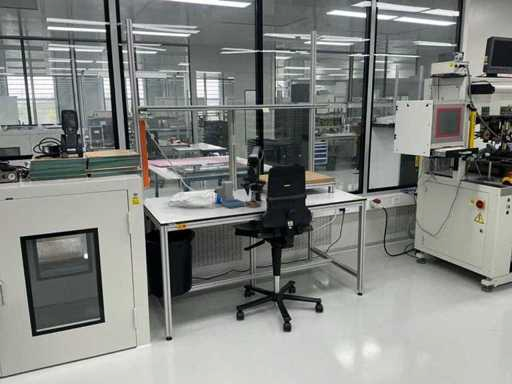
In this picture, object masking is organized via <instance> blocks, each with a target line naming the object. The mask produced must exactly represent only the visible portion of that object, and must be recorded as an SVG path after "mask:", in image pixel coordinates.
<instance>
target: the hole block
mask: <svg viewBox="0 0 512 384" xmlns="http://www.w3.org/2000/svg"><path fill="white" fill-rule="evenodd" d="M244 202H245V206H246V207H248V208H253V209H254V208H258V207H261V206H262V201H256V200H255V202H254V203H252V202H251V200H246V201H244ZM245 206H244V207H245Z"/></svg>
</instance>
